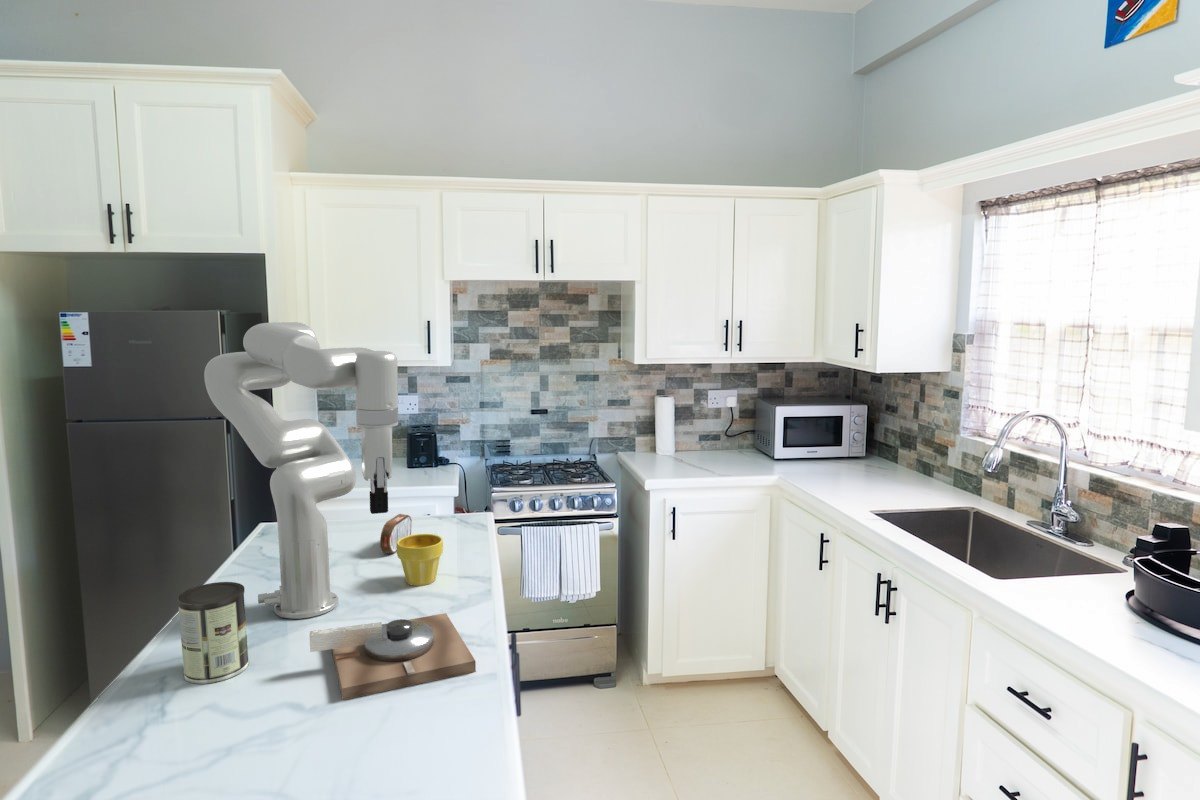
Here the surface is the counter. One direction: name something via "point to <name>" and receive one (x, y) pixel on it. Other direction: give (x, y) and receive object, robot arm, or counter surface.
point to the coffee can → (213, 632)
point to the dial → (378, 639)
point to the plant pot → (420, 557)
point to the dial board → (404, 663)
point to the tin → (394, 532)
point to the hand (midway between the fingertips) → (379, 511)
